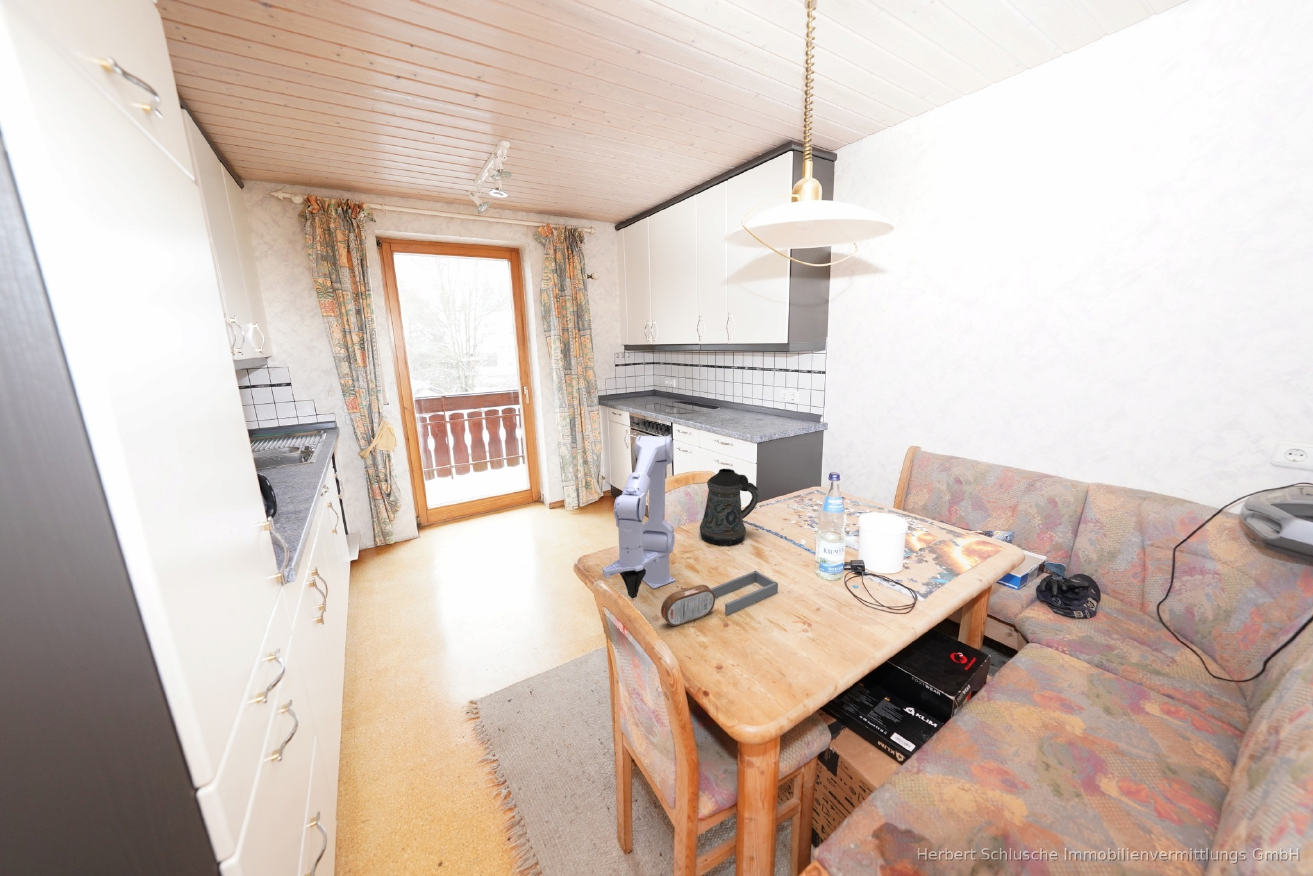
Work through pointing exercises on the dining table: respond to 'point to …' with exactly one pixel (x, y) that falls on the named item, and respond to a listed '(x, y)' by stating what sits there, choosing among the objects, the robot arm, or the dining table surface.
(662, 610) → the tin
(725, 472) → the beer stein
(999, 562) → the dining table surface
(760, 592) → the pocket
